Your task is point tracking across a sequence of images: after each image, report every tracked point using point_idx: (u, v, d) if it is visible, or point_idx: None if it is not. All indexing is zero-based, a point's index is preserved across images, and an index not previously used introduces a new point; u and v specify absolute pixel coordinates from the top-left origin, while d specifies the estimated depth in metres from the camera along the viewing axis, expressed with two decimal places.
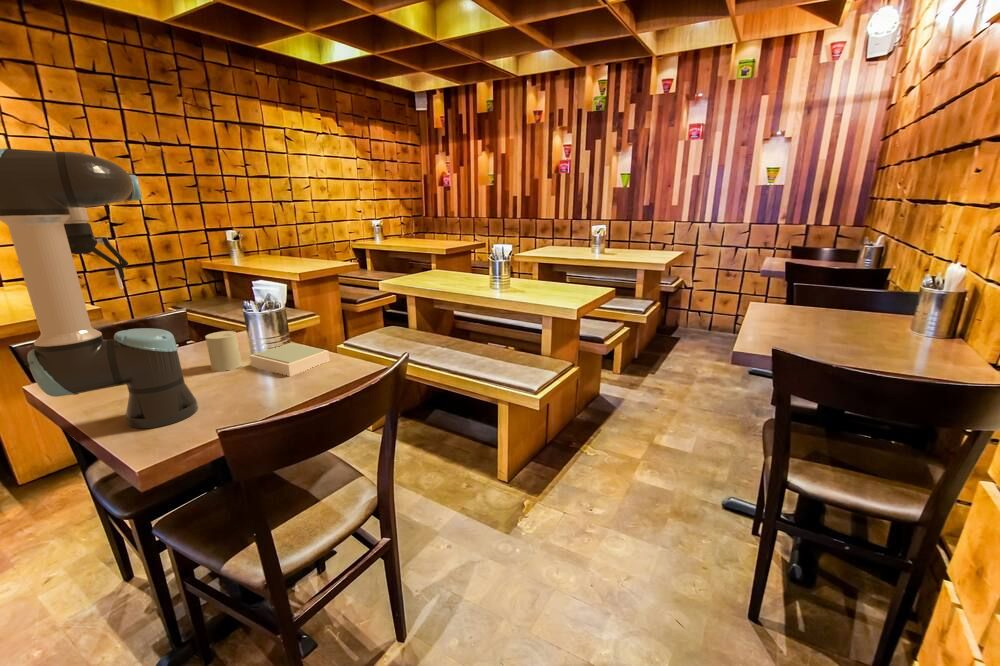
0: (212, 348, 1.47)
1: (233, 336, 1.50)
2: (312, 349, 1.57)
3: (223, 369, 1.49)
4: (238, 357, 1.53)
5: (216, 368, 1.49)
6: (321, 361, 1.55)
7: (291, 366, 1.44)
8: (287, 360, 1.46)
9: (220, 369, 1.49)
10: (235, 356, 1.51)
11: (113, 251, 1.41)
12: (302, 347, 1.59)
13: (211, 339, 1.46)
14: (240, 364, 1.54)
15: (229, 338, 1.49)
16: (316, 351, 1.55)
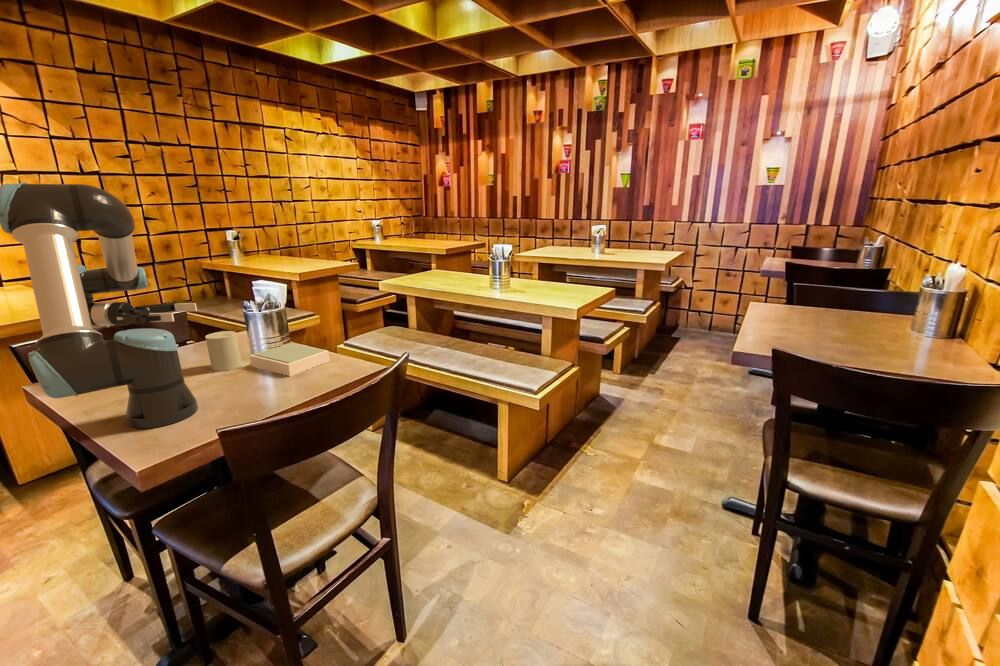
0: (212, 348, 1.47)
1: (233, 336, 1.50)
2: (312, 349, 1.57)
3: (223, 369, 1.49)
4: (238, 357, 1.53)
5: (216, 368, 1.49)
6: (321, 361, 1.55)
7: (291, 366, 1.44)
8: (287, 360, 1.46)
9: (220, 369, 1.49)
10: (235, 356, 1.51)
11: (158, 304, 1.52)
12: (302, 347, 1.59)
13: (211, 339, 1.46)
14: (240, 364, 1.54)
15: (229, 338, 1.49)
16: (316, 351, 1.55)
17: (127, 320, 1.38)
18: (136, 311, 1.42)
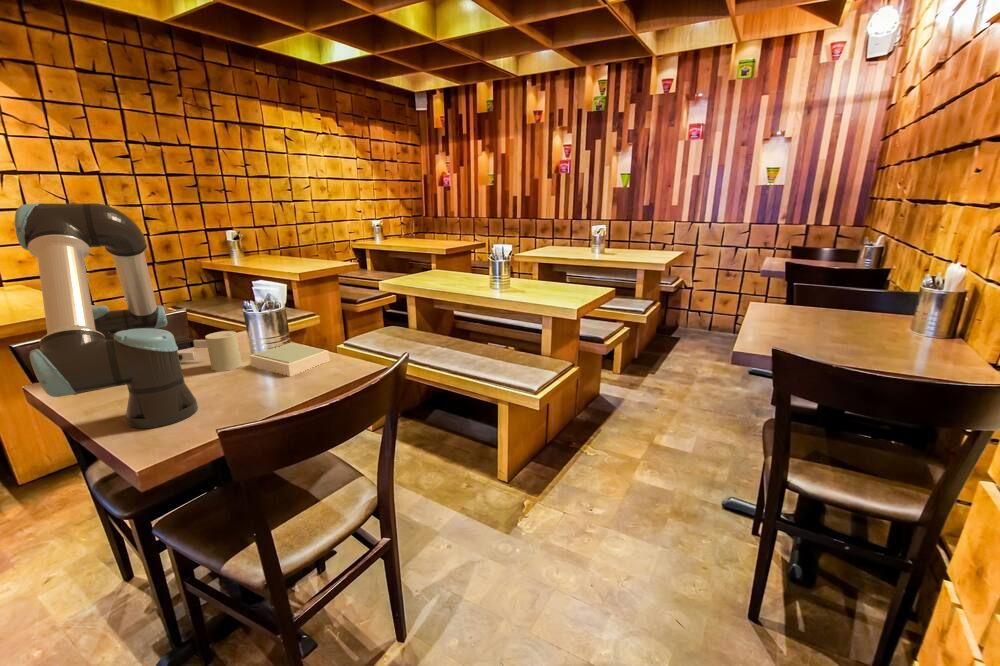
0: (212, 348, 1.47)
1: (233, 336, 1.50)
2: (312, 349, 1.57)
3: (223, 369, 1.49)
4: (238, 357, 1.53)
5: (216, 368, 1.49)
6: (321, 361, 1.55)
7: (291, 366, 1.44)
8: (287, 360, 1.46)
9: (220, 369, 1.49)
10: (235, 356, 1.51)
11: (178, 341, 1.57)
12: (302, 347, 1.59)
13: (211, 339, 1.46)
14: (240, 364, 1.54)
15: (229, 338, 1.49)
16: (316, 351, 1.55)
17: None
18: None
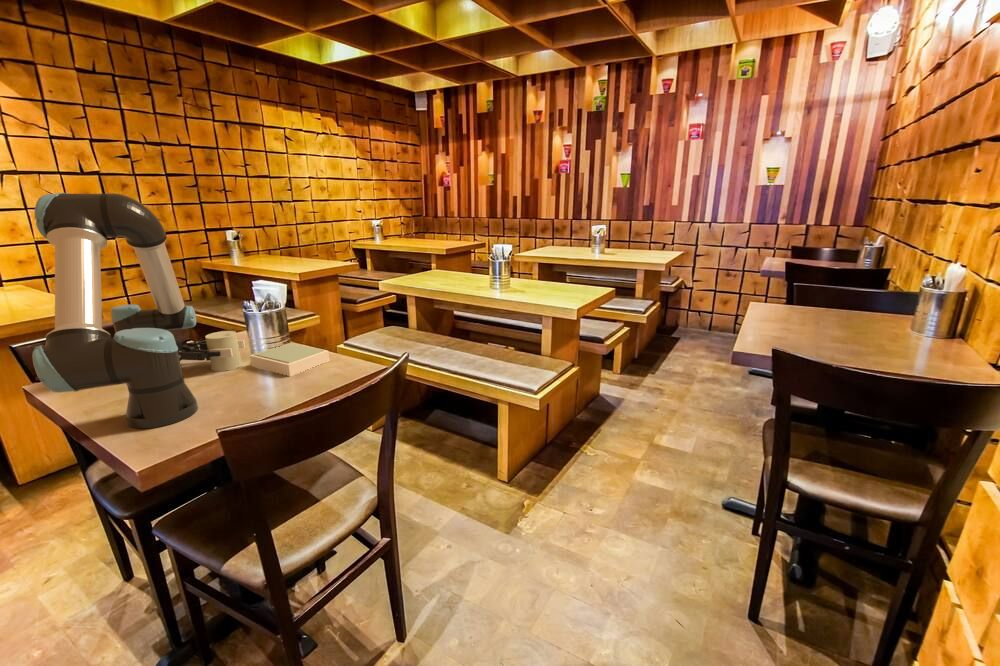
0: (212, 348, 1.47)
1: (233, 336, 1.50)
2: (312, 349, 1.57)
3: (223, 369, 1.49)
4: (238, 357, 1.53)
5: (216, 368, 1.49)
6: (321, 361, 1.55)
7: (291, 366, 1.44)
8: (287, 360, 1.46)
9: (220, 369, 1.49)
10: (235, 356, 1.51)
11: None
12: (302, 347, 1.59)
13: (211, 339, 1.46)
14: (240, 364, 1.54)
15: (229, 338, 1.49)
16: (316, 351, 1.55)
17: (186, 357, 1.44)
18: (191, 348, 1.48)
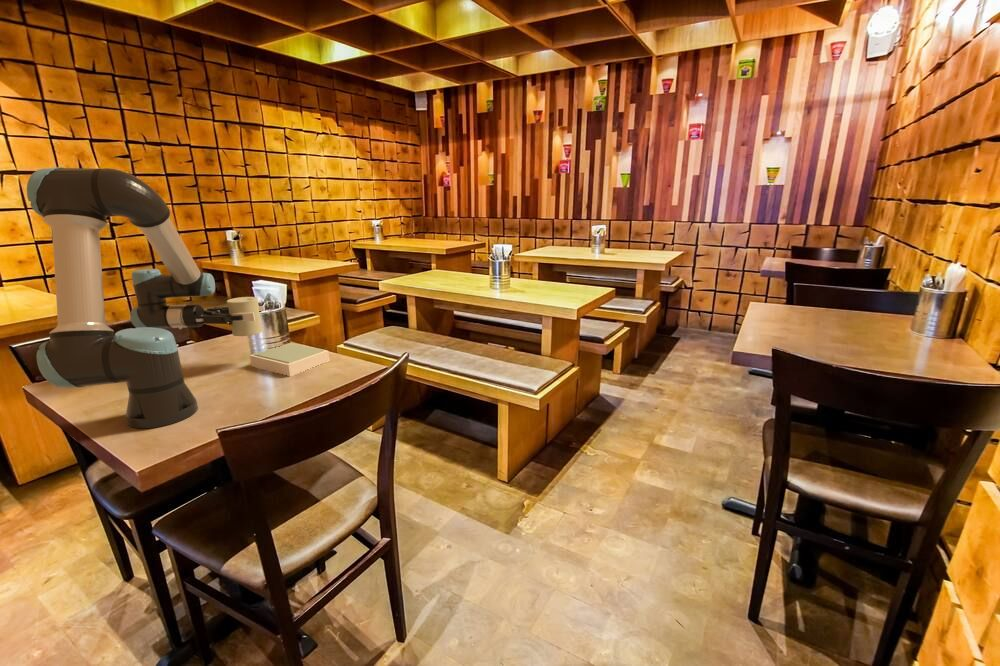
0: (234, 312, 1.47)
1: (255, 301, 1.50)
2: (312, 349, 1.57)
3: (245, 334, 1.49)
4: (259, 322, 1.52)
5: (238, 333, 1.49)
6: (321, 361, 1.55)
7: (291, 366, 1.44)
8: (287, 360, 1.46)
9: (242, 334, 1.49)
10: (257, 321, 1.51)
11: None
12: (302, 347, 1.59)
13: (233, 303, 1.46)
14: (261, 330, 1.53)
15: (251, 302, 1.48)
16: (316, 351, 1.55)
17: (209, 321, 1.44)
18: (213, 312, 1.47)
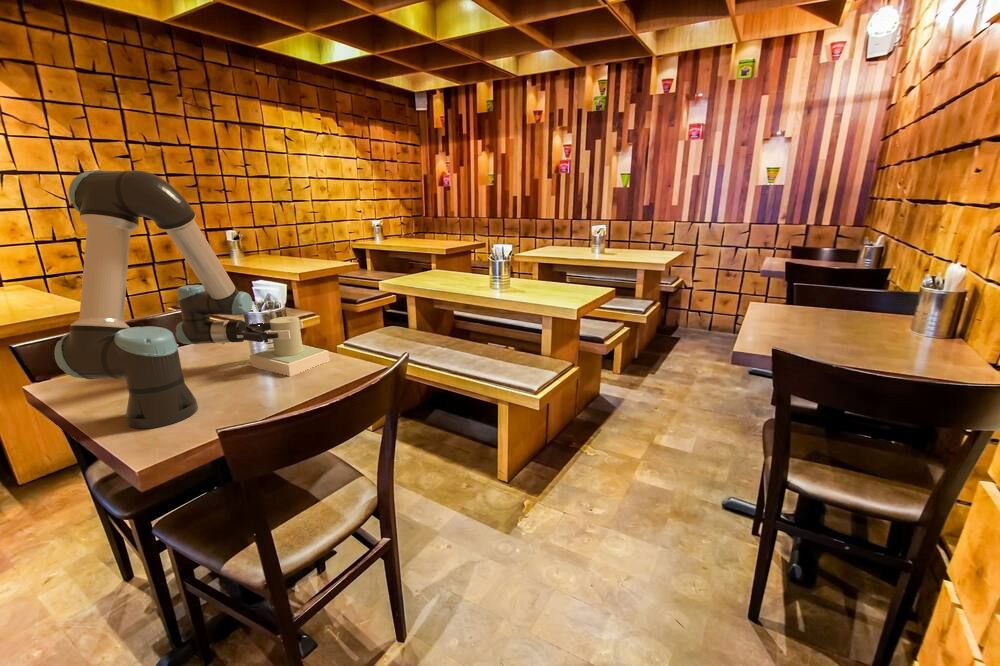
0: None
1: (296, 321, 1.51)
2: (312, 349, 1.57)
3: (287, 354, 1.50)
4: (300, 342, 1.54)
5: (280, 353, 1.50)
6: (321, 361, 1.55)
7: (291, 366, 1.44)
8: (287, 360, 1.46)
9: (284, 354, 1.50)
10: (298, 341, 1.52)
11: None
12: None
13: (276, 323, 1.47)
14: (302, 349, 1.55)
15: (293, 323, 1.50)
16: (316, 351, 1.55)
17: (247, 338, 1.44)
18: (253, 329, 1.47)
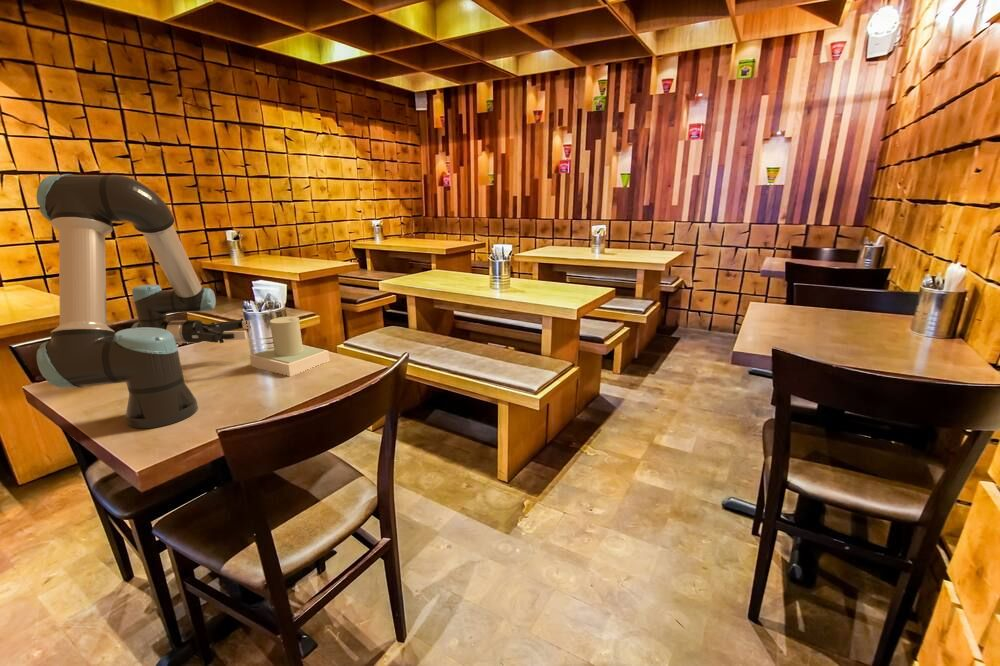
0: (277, 333, 1.48)
1: (297, 321, 1.51)
2: (312, 349, 1.57)
3: (287, 354, 1.50)
4: (300, 342, 1.54)
5: (280, 353, 1.50)
6: (321, 361, 1.55)
7: (291, 366, 1.44)
8: (287, 360, 1.46)
9: (284, 354, 1.50)
10: (298, 341, 1.52)
11: (226, 321, 1.57)
12: None
13: (276, 323, 1.47)
14: (302, 349, 1.55)
15: (293, 323, 1.50)
16: (316, 351, 1.55)
17: (202, 338, 1.42)
18: (209, 329, 1.46)
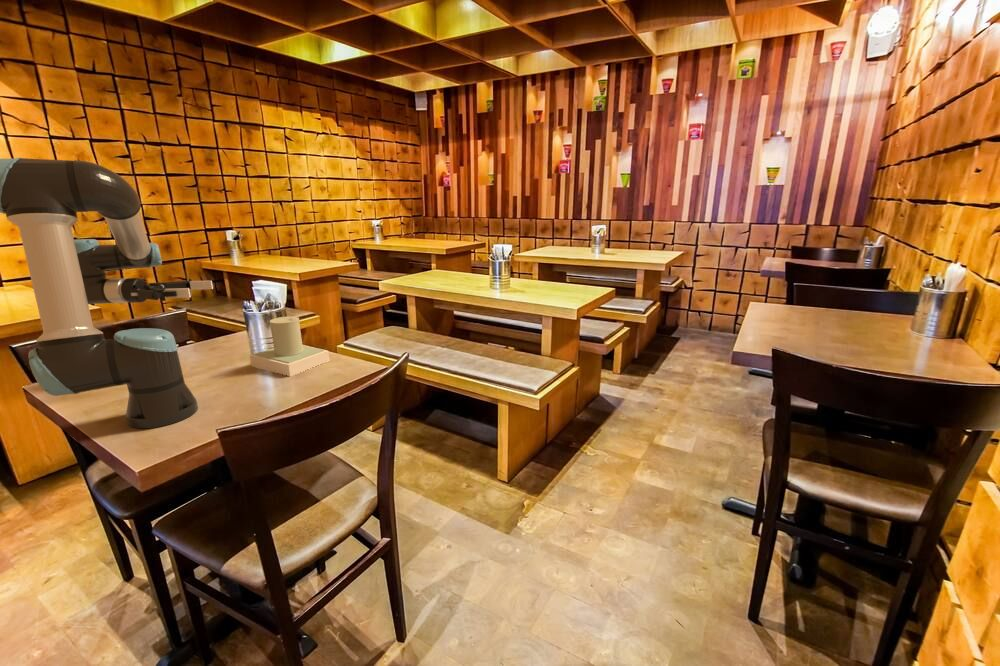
0: (277, 333, 1.48)
1: (296, 321, 1.51)
2: (312, 349, 1.57)
3: (287, 354, 1.50)
4: (300, 342, 1.54)
5: (280, 353, 1.50)
6: (321, 361, 1.55)
7: (291, 366, 1.44)
8: (287, 360, 1.46)
9: (284, 354, 1.50)
10: (298, 341, 1.52)
11: None
12: None
13: (276, 323, 1.47)
14: (302, 349, 1.55)
15: (293, 323, 1.50)
16: (316, 351, 1.55)
17: (142, 296, 1.32)
18: (151, 287, 1.36)
